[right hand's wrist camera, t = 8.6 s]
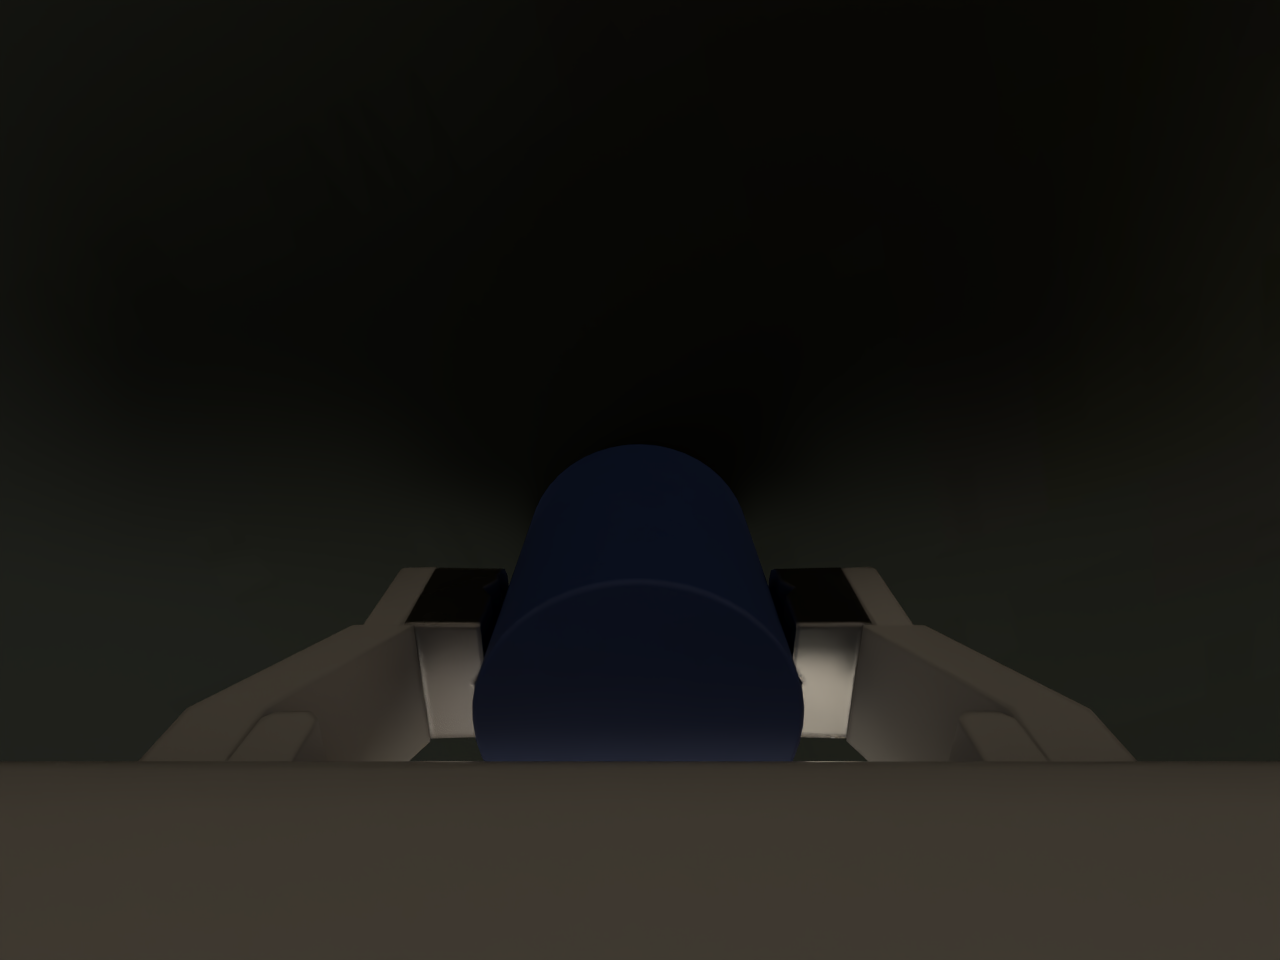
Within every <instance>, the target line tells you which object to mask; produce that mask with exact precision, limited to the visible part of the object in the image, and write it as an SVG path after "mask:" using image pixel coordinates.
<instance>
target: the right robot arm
mask: <svg viewBox="0 0 1280 960" xmlns="http://www.w3.org/2000/svg"><path fill="white" fill-rule="evenodd" d="M768 587H769V590H770V593H771V596H772V599H773V602H774V605H775V608H776V611H777V614H778V617H779V620H780V623H781V625H782V628H783V631H784V634H785V637H786V640H787V643H788V646H789V649H790V652H791V655H792V658H793V661H794V663H795V666H796V669H797V672H798V676H799V679H800V683H801V686H802V691H803V699H804V724H803V729H802V733H801V737H820V738H847V742H848V743H849V744H850V745H852V746H853V747H854V748H855V749H856V750H857V751H858V752H859V753H860V754H861V755H862V756H863V757H864V758H866V759H867V760H868V761H409V760H410V759H412V758H413V757H414V756H415V755H416V754H417V753H418V752H419V751H420V750H421V749H422V748H423V747H425V746H426V745H427V744H428V743H429V742H430V738H456V737H475V732H474V726H473V720H472V701H473V695H474V688H475V683H476V680H477V677H478V674H479V671H480V668H481V665H482V662H483V660H484V657H485V654H486V651H487V648H488V645H489V642H490V639H491V637H492V634H493V631H494V628H495V625H496V622H497V619H498V616H499V614H500V611H501V608H502V605H503V602H504V599H505V596H506V593H507V591H508V588H509V586H508V577H507V574H506V571H505V569H486V568H437V567H414V568H403V569H401V570H400V571H399V573H398V574H397V576H396V577H395V579H394V580H393V582H392V583H391V584H390V586H389V587H388V589H387V590H386V592H385V593H384V595H383V596H382V598H381V599H380V601H379V602H378V604H377V605H376V607H375V608H374V610H373V611H372V613H371V614H370V616H369V617H368V619H367V620H366V622H365V623H364V624H363V625H352V626H350V627H348V628H346V629H344V630H342V631H340V632H338V633H336V634H334V635H332V636H330V637H328V638H326V639H324V640H322V641H320V642H318V643H316V644H314V645H312V646H310V647H308V648H306V649H304V650H302V651H300V652H298V653H296V654H294V655H292V656H290V657H288V658H286V659H284V660H282V661H280V662H278V663H276V664H274V665H272V666H270V667H268V668H266V669H264V670H262V671H260V672H258V673H256V674H254V675H252V676H250V677H248V678H246V679H244V680H242V681H240V682H238V683H236V684H234V685H232V686H230V687H228V688H226V689H224V690H222V691H220V692H218V693H216V694H214V695H212V696H210V697H208V698H206V699H204V700H202V701H200V702H198V703H197V704H195V705H193V706H191V707H189V708H187V709H186V710H185V711H184V712H183V713H182V714H181V715H180V716H179V717H178V718H177V719H176V721H175V722H174V723H173V724H172V725H171V726H170V727H169V728H168V729H167V730H166V731H165V733H164V734H163V735H162V736H161V737H160V738H159V739H158V740H157V741H156V742H155V743H154V745H153V746H152V747H151V748H150V749H149V750H148V751H147V752H146V753H145V754H144V755H143V757H142V758H141V759H140V760H139V761H0V960H1280V761H1137V760H1136V759H1135V758H1134V757H1133V756H1132V755H1131V754H1130V753H1129V752H1128V750H1127V749H1126V748H1125V747H1124V746H1123V745H1122V744H1121V743H1120V742H1119V741H1118V739H1117V738H1116V737H1115V736H1114V735H1113V734H1112V733H1111V732H1110V731H1109V729H1108V728H1107V727H1106V726H1105V725H1104V724H1103V723H1102V722H1101V721H1100V719H1099V718H1098V717H1097V716H1096V715H1095V714H1094V713H1093V712H1092V711H1091V709H1089V708H1087V707H1085V706H1083V705H1081V704H1079V703H1077V702H1075V701H1073V700H1071V699H1069V698H1067V697H1065V696H1063V695H1061V694H1059V693H1057V692H1055V691H1053V690H1051V689H1049V688H1047V687H1045V686H1043V685H1041V684H1039V683H1037V682H1035V681H1033V680H1031V679H1029V678H1027V677H1025V676H1023V675H1022V674H1020V673H1018V672H1016V671H1014V670H1012V669H1010V668H1008V667H1006V666H1004V665H1002V664H1000V663H998V662H996V661H994V660H992V659H990V658H988V657H986V656H984V655H982V654H980V653H978V652H976V651H974V650H972V649H970V648H968V647H966V646H964V645H962V644H960V643H958V642H956V641H954V640H952V639H950V638H948V637H946V636H944V635H943V634H941V633H939V632H937V631H935V630H933V629H931V628H929V627H927V626H925V625H913V624H912V622H911V621H910V619H909V618H908V616H907V615H906V613H905V612H904V610H903V609H902V607H901V606H900V604H899V603H898V601H897V600H896V598H895V597H894V596H893V594H892V593H891V591H890V590H889V588H888V587H887V585H886V584H885V582H884V581H883V579H882V578H881V576H880V575H879V573H878V572H877V570H876V569H874V568H872V567H854V568H799V569H774V570H771V574H770V578H769V586H768Z"/></svg>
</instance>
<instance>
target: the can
mask: <svg viewBox="0 0 1280 960" xmlns="http://www.w3.org/2000/svg"><path fill="white" fill-rule="evenodd" d="M472 720H473V726H474V732H475V737H476V741H477V744H478V747H479V749H480V752H481V755H482V758H483V760H484V761H793V758H794V756H795V753H796V751H797V748H798V746H799V742H800V738H801V733H802V729H803V724H804V699H803V691H802V686H801V683H800V679H799V676H798V672H797V669H796V666H795V663H794V661H793V658H792V655H791V652H790V649H789V646H788V643H787V640H786V637H785V634H784V631H783V628H782V625H781V623H780V620H779V617H778V614H777V611H776V608H775V605H774V602H773V599H772V596H771V593H770V590H769V587H768V585H767V582H766V579H765V576H764V573H763V570H762V567H761V564H760V561H759V558H758V555H757V552H756V549H755V547H754V544H753V541H752V538H751V535H750V532H749V529H748V526H747V523H746V520H745V517H744V514H743V511H742V509H741V507H740V505H739V503H738V500H737V498H736V497H735V495H734V494H733V492H732V491H731V489H730V488H729V486H728V485H727V484H726V483H725V482H724V481H723V479H722V478H721V477H720V476H719V475H717V474H716V473H715V472H714V471H713V470H712V469H711V468H709V467H708V466H706V465H705V464H703V463H702V462H700V461H699V460H697V459H695V458H693V457H691V456H689V455H687V454H685V453H682V452H679V451H677V450H674V449H671V448H666V447H661V446H656V445H644V444H635V445H622V446H616V447H611V448H607V449H604V450H601V451H597V452H595V453H593V454H590V455H588V456H586V457H584V458H582V459H580V460H579V461H577V462H575V463H574V464H572V465H571V466H569V467H568V468H567V469H566V470H564V471H563V472H562V473H561V474H560V475H559V476H558V477H557V478H556V479H555V480H554V481H553V482H552V483H551V484H550V486H549V487H548V488H547V490H546V491H545V493H544V494H543V496H542V497H541V499H540V501H539V503H538V505H537V507H536V510H535V513H534V516H533V519H532V521H531V524H530V527H529V530H528V533H527V536H526V539H525V542H524V544H523V547H522V550H521V553H520V556H519V559H518V562H517V565H516V567H515V570H514V573H513V576H512V579H511V582H510V585H509V588H508V591H507V593H506V596H505V599H504V602H503V605H502V608H501V611H500V614H499V616H498V619H497V622H496V625H495V628H494V631H493V634H492V637H491V639H490V642H489V645H488V648H487V651H486V654H485V657H484V660H483V662H482V665H481V668H480V671H479V674H478V677H477V680H476V683H475V688H474V695H473V701H472Z"/></svg>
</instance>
